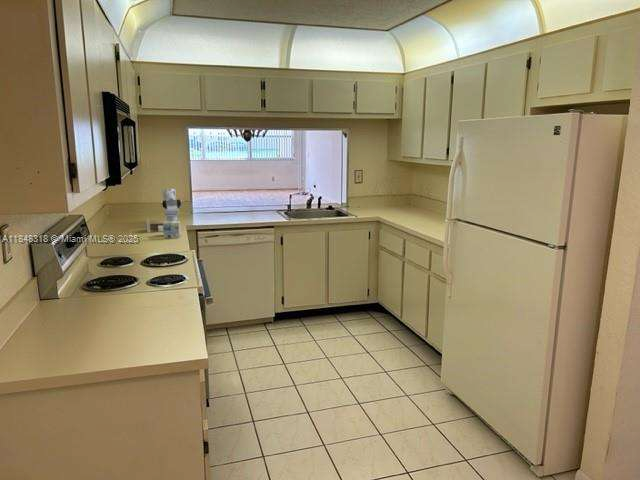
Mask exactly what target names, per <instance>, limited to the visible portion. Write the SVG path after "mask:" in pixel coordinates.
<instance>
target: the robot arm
mask: <svg viewBox="0 0 640 480" xmlns="http://www.w3.org/2000/svg"><path fill="white" fill-rule="evenodd" d="M161 192H162V199H163V200H162V201H160V205H161V206H162V207H163V208H164V210H163V211H164V216H166V221H178V215H179V209H180V207H181V206H182V204H183V200H181V199H176V198H177V194H176V193H177V192H176V189H175V188H167V189H166V188H164V189H162V191H161Z"/></svg>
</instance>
